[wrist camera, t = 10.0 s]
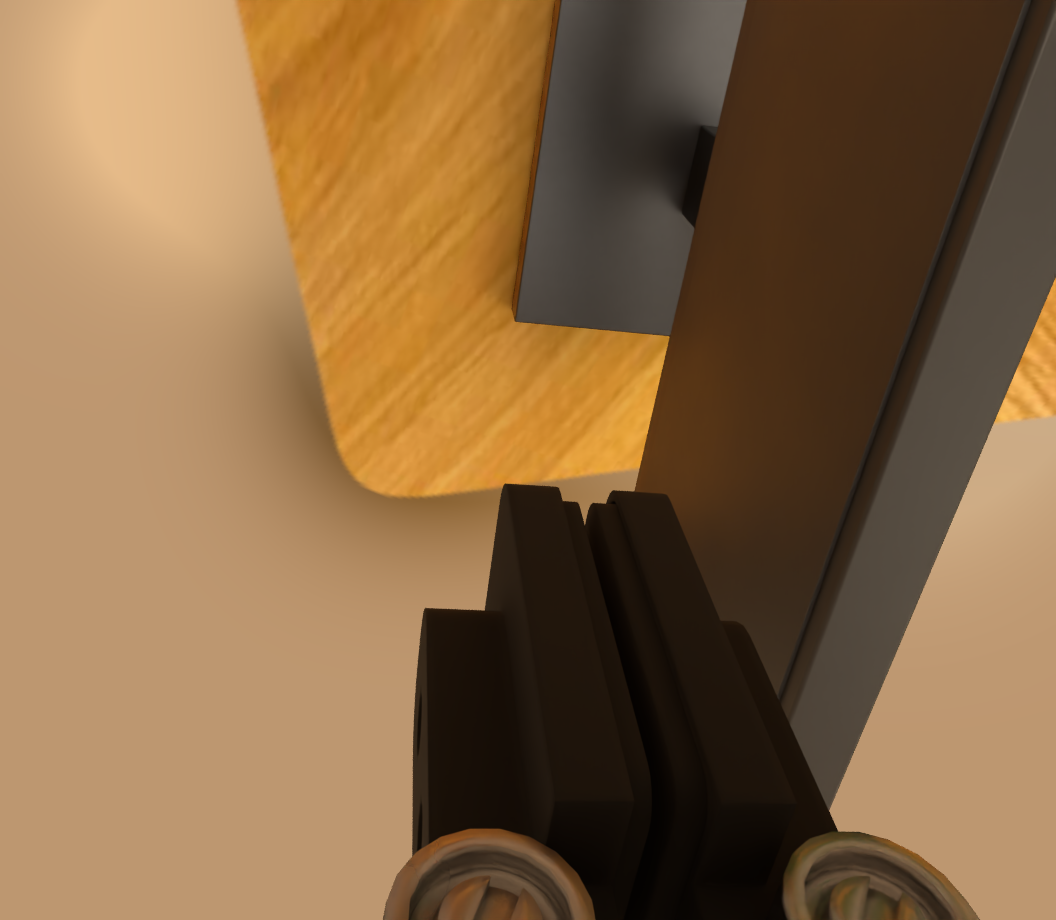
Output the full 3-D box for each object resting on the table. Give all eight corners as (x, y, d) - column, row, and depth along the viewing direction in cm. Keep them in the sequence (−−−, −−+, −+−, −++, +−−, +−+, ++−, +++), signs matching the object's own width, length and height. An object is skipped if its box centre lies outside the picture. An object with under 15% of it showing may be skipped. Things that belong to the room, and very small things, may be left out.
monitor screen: (627, 503, 30) (744, 827, 19) (773, -143, 21) (1113, -178, 11) (680, 506, 30) (824, 828, 20) (845, -129, 22) (1241, -153, 11)
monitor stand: (511, 309, 36) (552, 474, 26) (562, -55, 30) (642, -30, 20) (767, 334, 37) (901, 497, 27) (863, -8, 31) (1079, 39, 21)
